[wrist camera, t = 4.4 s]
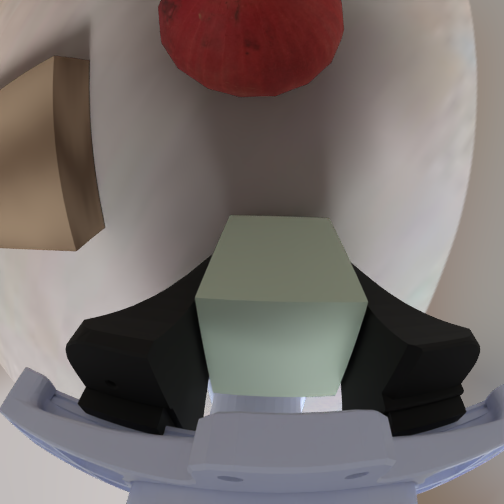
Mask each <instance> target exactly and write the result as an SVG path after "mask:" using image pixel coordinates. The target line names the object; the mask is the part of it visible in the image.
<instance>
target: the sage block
mask: <svg viewBox="0 0 504 504" xmlns="http://www.w3.org/2000/svg"><path fill="white" fill-rule="evenodd" d="M195 302H196V308H197V314H198V320H199V326H200V331H201V337H202V342H203V347H204V352H205V357H206V362H207V367H208V372H209V377H210V382H211V386H212V391H213V393H220V394H231V395H244V396H263V397H322V396H335V395H336V392H337V390H338V388H339V385H340V383H341V380H342V378H343V375H344V373H345V370H346V368H347V365H348V362H349V359H350V357H351V354H352V351H353V348H354V345H355V343H356V340H357V337H358V334H359V331H360V328H361V324H362V321H363V318H364V315H365V311H366V308H367V304H368V300H367V298H366V296H365V293H364V291H363V289H362V286H361V284H360V282H359V280H358V277H357V275H356V273H355V271H354V269H353V266H352V264H351V262H350V260H349V258H348V256H347V254H346V252H345V249H344V247H343V245H342V243H341V241H340V239H339V237H338V235H337V233H336V231H335V229H334V227H333V225H332V223H331V221H330V219H329V218H314V217H287V216H243V215H230V216H229V218H228V221H227V223H226V225H225V228H224V230H223V232H222V234H221V237H220V239H219V241H218V244H217V246H216V248H215V251H214V253H213V255H212V258H211V260H210V262H209V265H208V267H207V269H206V272H205V274H204V277H203V279H202V281H201V284H200V286H199V289H198V291H197V294H196V296H195Z"/></svg>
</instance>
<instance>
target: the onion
mask: <svg viewBox="0 0 504 504" xmlns="http://www.w3.org/2000/svg"><path fill="white" fill-rule="evenodd" d="M158 12H159V24H160V34H161V42H162V45H163V46H164V48H165V49H166V51H167V52H168V54H169V55H170V57H171V58H172V60H173V61H174V63H175V65H176V66H177V68H178V69H180V70H181V71H183V72H184V73H186V74H187V75H189V76H190V77H192V78H193V79H195V80H196V81H198V82H199V83H201V84H202V85H203V86H205V87H207V88H208V89H211V90H215V91H219V92H223V93H227V94H231V95H234V96H238V97H256V96H277V95H280V94H282V93H285V92H287V91H290V90H292V89H295V88H298V87H301V86H303V85H306V84H308V83H309V82H311V81H312V80H313V79H314V78H315V77H316V76H317V75H318V74H319V73H320V72H321V71H322V70H324V69H325V68H326V67H327V66H328V65H329V64H330V63H331V62H332V60H333V57H334V55H335V53H336V50H337V48H338V46H339V43H340V41H341V39H342V35H343V31H344V25H343V12H342V3H341V0H161V1H160V4H159V6H158Z"/></svg>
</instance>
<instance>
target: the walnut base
mask: <svg viewBox="0 0 504 504" xmlns="http://www.w3.org/2000/svg"><path fill="white" fill-rule="evenodd" d="M104 228H105V225H104V221H103V216H102V211H101V205H100V200H99V194H98V188H97V182H96V175H95V168H94V159H93V151H92V140H91V128H90V110H89V60H83V59H76V58H69V57H61V56H53V57H51V58H49V59H47V60H45V61H44V62H42V63H40V64H38V65H37V66H35V67H33V68H32V69H30V70H29V71H27V72H25V73H24V74H22V75H21V76H19V77H18V78H16V79H15V80H13V81H12V82H11V83H9V84H8V85H6V86H5V87H4V88H2V89H1V90H0V248H11V249H34V250H58V251H77V250H78V249H80V248H81V247H82V246H83V245H84V244H85V243H87V242H88V241H89V240H90V239H91V238H93V237H94V236H95V235H96V234H98V233H99V232H100V231H101V230H103V229H104Z"/></svg>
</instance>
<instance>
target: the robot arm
mask: <svg viewBox="0 0 504 504" xmlns="http://www.w3.org/2000/svg"><path fill="white" fill-rule="evenodd" d="M212 255H213V254H212ZM212 255H211V256H210V257H208V258H207V259H206V260H205V261H204V262H202V263H201V264H200V265H199V266H197V267H196V268H195V269H194V270H193V271H191V272H190V273H189V274H187V275H186V276H185V277H183V278H182V279H180V280H179V281H178V282H176V283H175V284H173V285H172V286H170V287H169V288H167V289H166V290H164V291H162V292H160V293H159V294H157V295H155V296H153V297H151V298H149V299H147V300H145V301H142V302H140V303H138V304H136V305H134V306H131V307H128V308H126V309H123V310H120V311H117V312H114V313H111V314H107V315H103V316H99V317H95V318H91V319H86V320H84V321H83V322H82V324H81V325H80V326H79V328H78V329H77V331H76V332H75V333H74V335H73V336H72V337H71V339H70V340H69V342H68V343H67V345H66V354H67V358H68V360H69V362H70V364H71V366H72V367H73V369H74V370H75V372H76V373H77V375H78V376H79V378H80V379H81V380H82V382H83V383H84V385H85V386H86V388H85V390H84V392H83V394H82V396H81V398H80V399H76V398H74V397H72V396H69V395H67V394H64V393H62V392H60V391H58V390H56V388H55V387H54V385H53V384H52V383H51V381H50V380H49V379H48V378H47V377H45V376H44V375H42V374H40V373H38V372H36V371H34V370H32V369H30V368H28V367H26V368H25V369H24V371H23V372H22V374H21V375H20V377H19V378H18V380H17V381H16V383H15V384H14V386H13V388H12V389H11V391H10V392H9V394H8V396H7V397H6V399H5V401H4V402H3V404H2V406H1V408H0V412H1V413H2V414H3V415H4V416H5V417H6V418H7V419H8V420H9V421H10V422H11V423H12V424H13V425H14V426H15V427H16V428H18V429H19V430H20V431H21V432H22V433H23V434H24V435H25V436H27V437H28V438H29V439H30V440H32V441H33V442H34V443H35V444H37V445H38V446H40V447H41V448H43V449H45V450H46V451H48V452H49V453H51V454H53V455H54V456H56V457H58V458H59V459H61V460H63V461H65V462H66V463H68V464H70V465H72V466H73V467H75V468H77V469H79V470H81V471H83V472H85V473H87V474H89V475H91V476H93V477H95V478H97V479H99V480H101V481H104V482H106V483H108V484H110V485H113V486H115V487H118V488H120V489H122V490H125V491H128V492H130V493H129V496H128V500H127V503H126V504H418V503H417V494H419V493H422V492H425V491H427V490H430V489H432V488H435V487H437V486H439V485H442V484H444V483H446V482H448V481H450V480H453V479H454V478H457V477H459V476H461V475H463V474H464V473H466V472H469V471H470V470H472V469H474V468H476V467H478V466H480V465H481V464H483V463H485V462H487V461H488V460H490V459H492V458H493V457H495V456H497V455H498V454H499V453H501V452H502V451H503V450H504V384H502V385H500V386H498V387H497V388H495V389H494V390H493V391H492V392H491V393H490V394H489V395H488V397H487V398H486V400H485V401H482V402H480V403H477V404H475V405H472V406H470V407H467V408H465V407H464V404H463V401H462V399H461V397H460V395H462V394H463V392H464V390H463V387H462V385H461V383H462V381H463V380H464V379H465V378H466V376H467V375H468V373H469V372H470V371H471V369H472V368H473V366H474V365H475V363H476V361H477V359H478V356H479V353H480V346H479V344H478V342H477V340H476V339H475V337H474V335H473V334H472V332H471V330H470V329H468V328H464V327H461V326H457V325H454V324H451V323H448V322H445V321H442V320H439V319H437V318H434V317H432V316H430V315H427V314H425V313H423V312H421V311H419V310H417V309H415V308H413V307H411V306H409V305H407V304H406V303H404V302H402V301H401V300H399V299H398V298H396V297H394V296H393V295H391V294H390V293H388V292H387V291H386V290H384V289H383V288H382V287H380V286H379V285H378V284H376V283H375V282H374V281H372V280H371V279H370V278H369V277H368V276H366V275H365V274H364V273H363V272H362V271H360V270H359V269H358V268H357V267H356V266H354V265H353V264H352V263H351V264H352V266H353V269H354V271H355V273H356V275H357V277H358V280H359V282H360V284H361V286H362V289H363V291H364V293H365V296H366V298H367V300H368V304H367V308H366V311H365V315H364V318H363V321H362V324H361V328H360V331H359V334H358V337H357V340H356V343H355V345H354V348H353V351H352V354H351V357H350V359H349V362H348V365H347V368H346V370H345V373H344V375H343V378H342V380H341V392H342V411H332V412H311V413H302V410H303V406H304V403H305V400H306V397H263V396H244V395H231V394H220V393H213V391H212V386H211V382H210V377H209V372H208V367H207V362H206V357H205V352H204V347H203V342H202V337H201V331H200V326H199V320H198V314H197V308H196V302H195V296H196V294H197V291H198V289H199V286H200V284H201V281H202V279H203V277H204V274H205V272H206V269H207V267H208V265H209V262H210V260H211V258H212ZM207 387H208V391H209V395H210V399H211V403H212V407H211V412H210V415H208V416H205V417H203V416H204V408H205V400H206V393H207Z"/></svg>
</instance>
